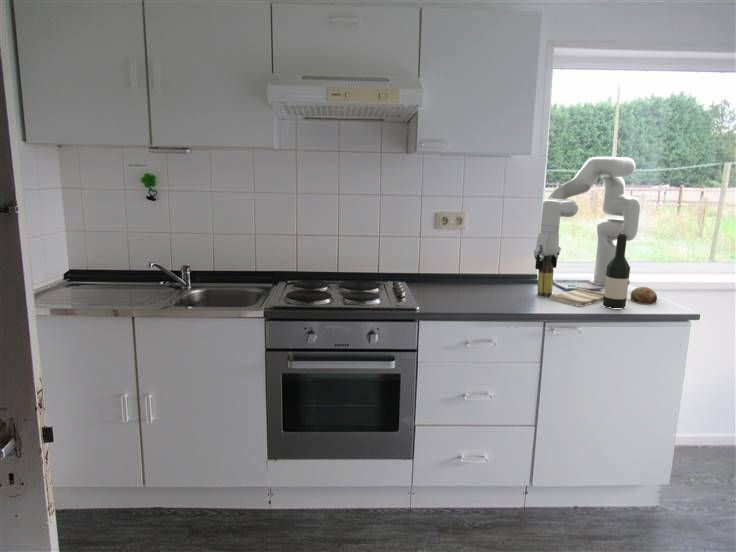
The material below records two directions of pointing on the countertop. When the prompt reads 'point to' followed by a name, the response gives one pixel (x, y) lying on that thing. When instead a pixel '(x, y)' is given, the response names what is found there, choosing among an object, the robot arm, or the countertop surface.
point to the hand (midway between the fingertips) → (545, 268)
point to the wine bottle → (617, 276)
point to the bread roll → (643, 295)
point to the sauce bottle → (545, 278)
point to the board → (578, 297)
